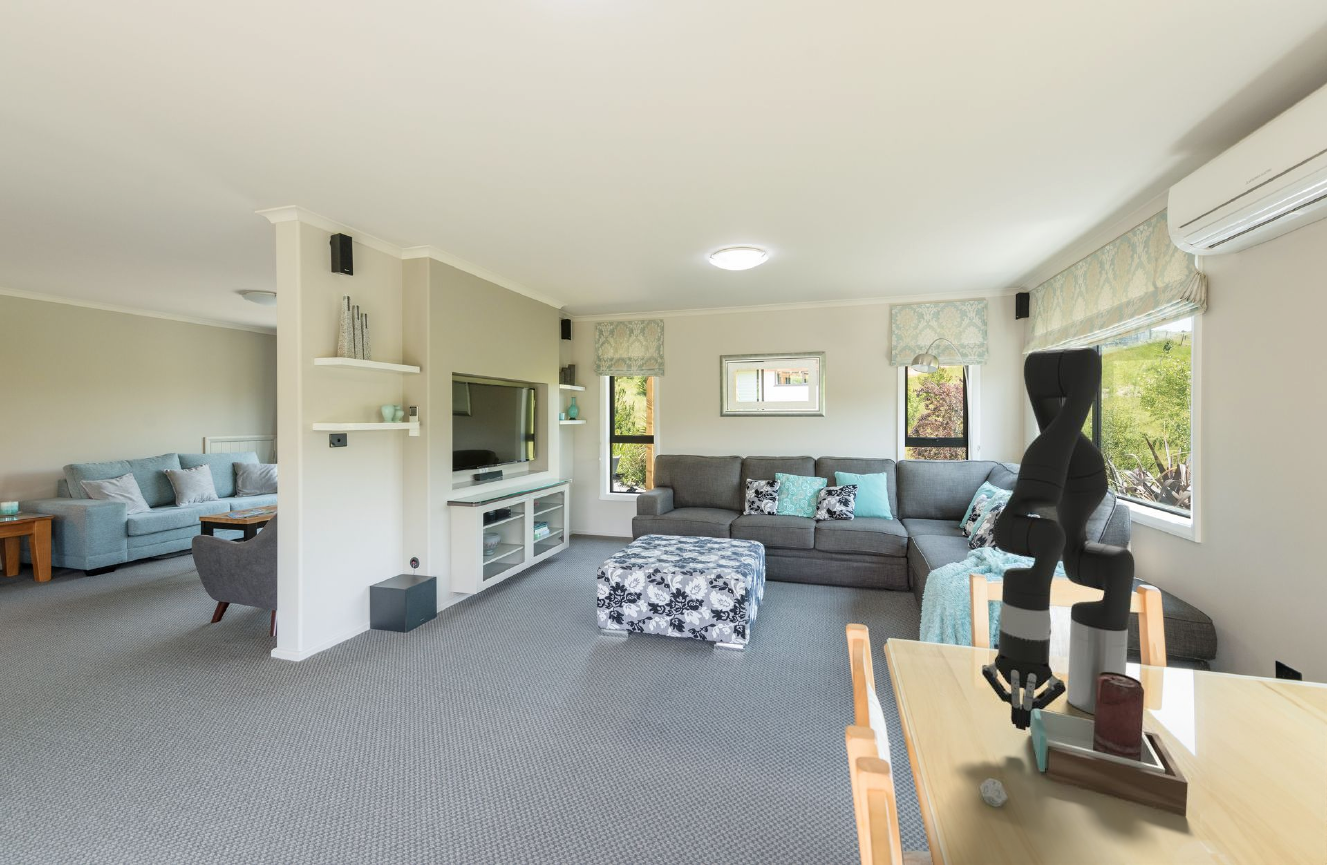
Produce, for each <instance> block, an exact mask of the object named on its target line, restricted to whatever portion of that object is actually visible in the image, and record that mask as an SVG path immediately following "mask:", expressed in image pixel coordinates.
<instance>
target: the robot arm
mask: <svg viewBox="0 0 1327 865" xmlns="http://www.w3.org/2000/svg"><path fill="white" fill-rule="evenodd" d="M1102 366H1103V364H1102V361H1101V357H1100V355H1099V353H1098V351H1097V350H1096V349H1095V348H1093V347H1091V346H1071V347H1060V348H1059V347H1058V348H1049V349H1040V350H1034V351H1032V352H1030V353H1029V354H1028V355H1027V356H1026V359H1025V361H1024V365H1023V378H1024V384H1025V389H1026V392H1027V395H1028V399H1029V402H1030V404H1031V407H1032V411H1033V413H1034V417H1035V420H1036V424H1037V426H1038V431H1039V435H1038V436H1037V437H1036V438H1034V440H1033V441H1032V442H1031V443H1030V445H1028V447H1027V449H1026V450H1025V452H1024V454H1023V456H1022V460H1021V462H1020V467H1019V469H1018V473H1017V474H1018V475H1017V478H1016V482H1015V483H1016V484H1015V487H1014V489H1013V491H1012V493H1011V495H1010V497H1009V499H1008V500H1007V502H1006V504H1005V505H1004V507H1003V509H1002V510H1001V512H1000V514H999V515H998V517H997V518H996V521H994V522H995V523H994V525H993V528H992V538H993V542H994V544H995V546H996V548H997V549H999V550H1000V551H1002V552H1004V553H1006V554H1011V555H1015V556H1021V557H1026V558H1031V559H1034V562H1033V564H1032V566H1031V567H1010V568H1007V569H1006V570H1005V571H1004V573H1003V576H1002V595H1001V606H1000V609H999V610H1000V611H999V622H998V624H999V625H998V626H999V627H998V628H999V629H998V631H999V632H998V652H997V655H996V657H995V658H994V662H993V663H991V664H989V665H987V664H983V665H982V666H981V673H982V675H983V677H984V678H985V680H986V682H988V684H989V685H990V687H991V688H992V689H993V691H994V692H995V693H996V695H997V696H998V698H999V699H1000V701H1002V702H1004V703H1008V704H1010V705H1011V708H1010V711H1011V712H1010V719H1011V724H1012V725H1014V726H1015V729H1017V730H1021V731H1022V730H1023V731H1026V729H1030V725H1031V711H1032V710H1033V709H1040V710H1042V709H1045V708H1047V706H1049V705H1051V703H1052V702H1054V701H1055V700H1056V699H1058V698H1059V697H1060V696H1061V695H1063V694H1064V693H1066V692H1067V693H1066V695H1067V696H1066V699H1067V700H1066V701H1068V703H1069V704H1070V705H1071V706H1073V707H1074V708H1077V709H1079V710H1081V711H1084V712H1086V713H1089V714H1092V715H1094V716H1095V696H1096V679H1097V677H1098V676H1099V674H1100V673H1101V672H1114V673H1119V674H1123V675H1126V674H1127V673H1126V672H1127V654H1128V636H1129V635H1128V633H1129V632H1128V630H1129V629H1128V628H1129V618H1130V614H1131V607H1132V595H1133V588H1134V587H1133V586H1134V580H1135V571H1136V570H1135V559H1134V556H1133V554H1132V552H1131V551H1130V550H1129V549H1128V548H1125V547H1122V546H1116V545H1112V544H1105V543H1100V542H1094V541H1090V540H1089V539H1088V537H1087V533H1086V532H1087V524H1088V522H1089V520H1090V518H1091V517H1092V515H1093V514H1094V512H1095V511H1096V510H1097V509H1098V507H1099V506H1100V505H1101V503H1102V502H1103V500H1104V499H1105V498H1106V496H1107V493H1108V491H1109V479H1108V474H1107V467H1106V463H1105V458H1104V455H1103V454H1102V452H1101V450H1100V449H1099V447H1098V446H1097V445H1096V444H1095V443H1094V442H1093V441H1092V440H1091V439H1090V438H1089V437H1088V436H1087V435H1086V433H1084V432H1083V431H1082V430H1083V427H1084V425H1085V423H1086V421H1087V418H1088V415H1089V414H1090V410H1091V408H1092V405H1093V402H1094V401H1095V398H1096V396H1097V393H1098V390H1099V387H1100V384H1101V378H1102V372H1103V371H1102ZM1061 399H1065V400H1064V403H1063V405H1062V402H1061ZM1054 507H1055V512H1056V515H1057V520H1053V519H1051V518H1044V517H1038V516H1037V517H1036V516H1029V515H1030V514H1031V513H1032V512H1033V511H1035V510H1037V509H1046V508H1054ZM1061 558H1062V566H1063V572H1064V573H1065V575H1066V578H1067V579H1068V580H1069V582H1071V583H1073V584H1076V585H1079V586H1083V587H1087V588H1091V589H1094V590H1099V591H1103V596H1102V599H1100V600H1093V601H1090V600H1089V601H1079V602H1075V603H1073V604H1072V605H1071V609H1070V623H1069V625H1070V626H1069V627H1070V629H1069V631H1070V632H1069V647H1068V648H1069V649H1068V650H1069V652H1068V672H1067V674H1068V676H1067V687H1066V685H1065V683H1064V680H1062V679H1058V678H1057V676H1055V675H1054V674H1053V671H1052V668H1051V666H1050V653H1051V652H1050V649H1051V635H1052V627H1051V624H1052V623H1051V622H1052V621H1051V612H1050V610H1051V609H1050V608H1051V607H1050V606H1051V589H1052V588H1051V587H1052V583H1053V578H1054V575H1055V572H1056V569H1057V566H1058V563H1059V562H1060V559H1061ZM998 672H999V673H1000V674H1001V676H1002V678H1003V679H1004V680H1005V682H1006V683H1007V684H1008V685H1009V686H1010V692H1008V691H1007V689H1006V688H1005V687H1004V686H1003V684H1002V683H1001V681H1000V680H999V679H998V676H999V674H998ZM1046 683H1047V684H1046ZM1044 684H1046V685H1047V687H1046V688H1045V689H1044V690H1043V691H1041V692H1040V693H1038V694H1037V695H1036V696H1035V691H1037V690H1039V689H1040V688H1041V687H1042V686H1043V685H1044ZM1020 689H1023V691H1022V692H1023V693H1022V703H1021V696H1020V695H1021V691H1020Z"/></svg>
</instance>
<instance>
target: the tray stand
mask: <svg viewBox="0 0 1327 865" xmlns="http://www.w3.org/2000/svg"><path fill="white" fill-rule="evenodd" d="M1043 710H1047V711H1052V712H1055V711H1054V710H1049V709H1045V708H1044V709H1043ZM1056 712H1057V713H1061V714H1064V712H1059V711H1056ZM1065 714H1066V713H1065ZM1066 715H1070V716H1075V717H1079V718H1084V719H1088V720H1093V721H1094V719H1090V718H1086V717H1081V716H1077V715H1073V714H1068V713H1067V714H1066ZM1142 731H1143V732H1144V734H1145V735H1146V737H1147V739H1148V741H1149V742H1150V744H1151V746H1152V748H1153V749H1154V751H1155V753H1156V755H1157V756H1158V758H1159V760H1160V762H1161V763H1162V765H1163V767H1164V769H1165V774H1162V773H1158V772H1154V771H1150V770H1146V769H1142V768H1138V767H1133V766H1129V765H1125V764H1121V763H1117V762H1113V761H1109V760H1105V759H1101V758H1096V757H1092V756H1088V755H1084V754H1080V753H1076V752H1072V751H1068V750H1064V749H1059V748H1055V747H1051V746H1048V766H1047V768H1045V773H1046V777H1047V780H1048V781H1053V782H1057V783H1060V784H1064V785H1067V786H1072V787H1075V788H1080V789H1083V790H1085V791H1091V792H1094V793H1098V794H1102V795H1106V796H1109V797H1113V798H1116V799H1121V800H1124V801H1128V802H1131V803H1136V804H1139V805H1143V806H1147V807H1150V808H1154V809H1157V810H1162V811H1166V812H1169V813H1172V814H1177V815H1180V816H1185V817H1186V816H1187V802H1188V781H1187V779H1186V778H1185V776H1184V775H1183V773H1182V771H1181V769H1180V767H1179V766H1178V765H1177V763H1176V762H1175V760H1174V758H1173V756H1172V755H1171V753H1170V752H1169V750H1168V749H1167V747H1166V744H1165V743H1164V742H1163V740H1162V738H1161V737H1160V735H1159V734H1158V733H1155V732H1154V733H1153V732H1149V731H1146V730H1142Z"/></svg>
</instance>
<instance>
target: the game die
mask: <svg viewBox="0 0 1327 865" xmlns="http://www.w3.org/2000/svg"><path fill="white" fill-rule="evenodd" d="M979 789H980V791H981V794H982V797H983V799H984V800H985V804H988V805H990V806H993V807H995V808H999V807H1000V806H1002V805H1004V803H1005V802H1006V801H1007V800H1008V796H1007V792H1006V790H1005V788H1004V786H1003V784H1002V783H1001V781H999V780H996V779H994V778H991V777H989V778H988V779H986V780H984V781H983V782H982V784H981V785H980V786H979Z"/></svg>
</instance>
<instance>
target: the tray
mask: <svg viewBox="0 0 1327 865" xmlns="http://www.w3.org/2000/svg"><path fill="white" fill-rule="evenodd" d="M1047 710H1048V709H1045V710H1043V709H1042V710H1040V709H1033V710H1032V711H1031V725H1030V727H1029V729H1030V735H1031V741H1032V744H1033V749H1034V754H1035V758H1036V763H1037V768H1038V771H1040V772H1045V773H1046V769H1045V768H1047V766H1048V746H1051V747H1055V748H1059V749H1064V750H1068V751H1072V752H1076V753H1080V754H1084V755H1088V756H1092V757H1096V758H1101V759H1105V760H1109V761H1113V762H1117V763H1121V764H1125V765H1129V766H1133V767H1138V768H1142V769H1146V770H1150V771H1154V772H1158V773H1162V774H1165V769H1164V767H1163V765H1162V763H1161V762H1160V760H1159V758H1158V756H1157V755H1156V753H1155V751H1154V749H1153V748H1152V746H1151V744H1150V742H1149V741H1148V739H1147V737H1146V735H1145V734H1144V732H1143V731H1144V730H1142V745H1141V762H1139V761H1134V760H1130V759H1126V758H1122V757H1118V756H1114V755H1109V754H1105V753H1101V752H1097V751H1093V738H1094V721H1093V720H1094V719H1091V720H1088V719H1089V718H1086V719H1084V718H1085V717H1082V718H1079V717H1080V716H1077V717H1075V716H1076V715H1073V716H1070V715H1071V714H1068V715H1066V713H1063V714H1061V713H1062V712H1059V713H1057V712H1058V711H1054V712H1052V711H1053V710H1050V711H1047Z"/></svg>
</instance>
